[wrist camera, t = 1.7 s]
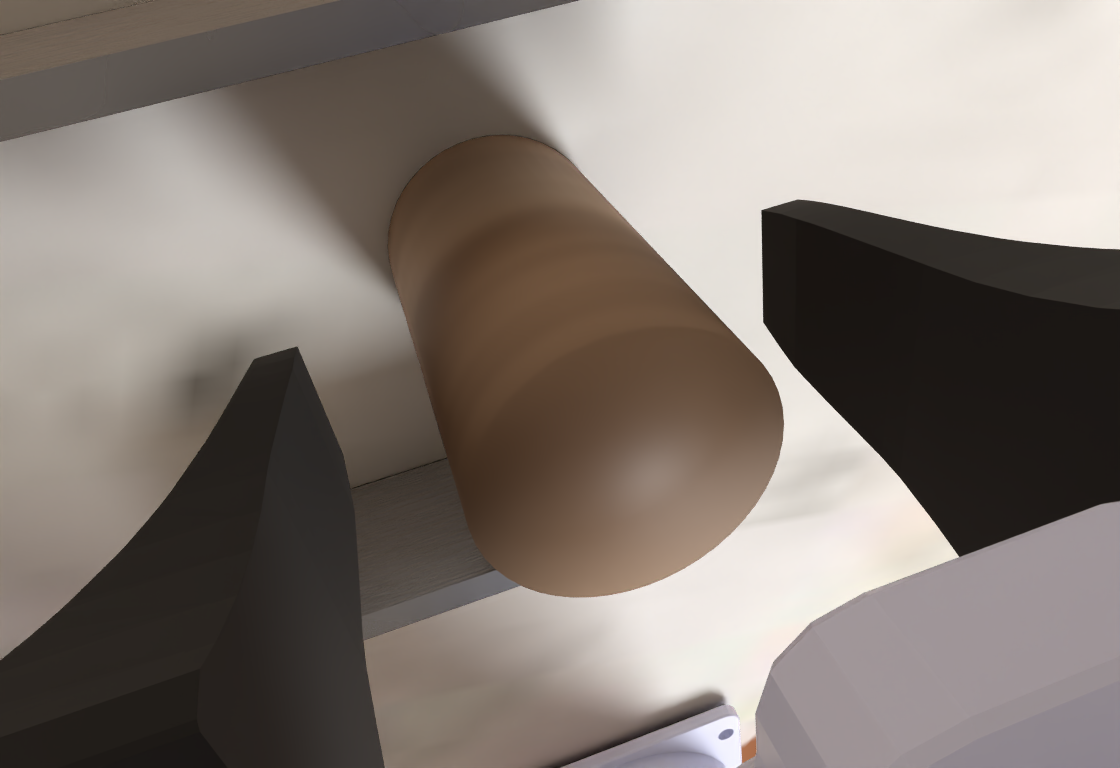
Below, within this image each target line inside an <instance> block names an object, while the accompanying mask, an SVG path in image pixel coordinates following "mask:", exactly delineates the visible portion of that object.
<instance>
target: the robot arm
mask: <svg viewBox="0 0 1120 768" xmlns="http://www.w3.org/2000/svg"><path fill="white" fill-rule="evenodd" d="M761 211H762V270H763V322H764V324H765V325H766V327H767V328H768V330H769V331H770V333H771V334H772V336H773V337H774V339H775V340H776V342H777V343H778V345H779V346H780V348H781V349H782V351H783V352H784V353H785V355H786V356H787V357H788V359H789V360H790V361H791V363H792V364H793V366H794V367H795V368H796V369H797V370H798V371H799V372H800V373H801V375H802V376H803V377H804V378H805V379H806V380H807V381H808V382H809V383H810V384H811V385H812V386H813V387H814V388H815V389H816V390H817V391H818V392H819V393H820V395H821V396H822V397H823V398H824V399H825V400H826V401H827V402H828V403H829V404H830V405H831V406H832V407H833V408H834V409H835V410H836V411H837V412H838V413H839V414H840V415H841V416H842V417H843V418H844V419H845V420H846V421H847V422H848V423H849V424H850V425H851V426H852V427H853V428H854V429H855V430H856V431H857V432H858V433H859V434H860V435H861V436H862V437H863V439H864V440H865V441H866V442H867V443H868V444H869V445H870V446H871V447H872V448H873V449H874V450H875V451H876V452H877V453H878V454H879V455H880V456H881V457H882V458H883V459H884V460H885V461H886V462H887V464H888V465H889V466H890V467H891V468H892V469H893V470H894V471H895V473H896V474H897V475H898V476H899V477H900V478H901V480H902V481H903V482H904V483H905V485H906V486H907V487H908V489H909V490H910V491H911V492H912V494H913V495H914V496H915V498H916V499H917V500H918V502H919V503H920V504H921V505H922V507H923V508H924V509H925V511H926V512H927V513H928V515H929V516H930V517H931V518H932V520H933V521H934V522H935V524H936V525H937V526H938V528H939V529H940V531H941V532H942V533H943V535H944V536H945V537H946V539H947V540H948V542H949V543H950V544H951V546H952V547H953V549H954V550H955V551H956V553H957V554H958V556H959V558H956V559H953V560H951V561H948V562H945V563H943V564H940V565H937V566H935V567H932V568H929V569H927V570H924V571H921V572H919V573H916V574H913V575H911V576H908V577H905V578H903V579H900V580H897V581H895V582H892V583H889V584H887V585H884V586H881V587H879V588H876V589H873V590H871V591H868V592H865V593H863V594H861V595H859V596H857V597H856V598H854V599H852V600H850V601H848V602H847V603H845V604H843V605H841V606H840V607H838V608H836V609H834V610H832V611H831V612H829V613H827V614H825V615H823V616H822V617H820V618H818V619H816V620H814V621H813V622H811V623H810V624H809V625H808V626H807V627H806V628H805V629H804V630H803V631H802V632H801V634H800V635H799V636H798V637H797V638H796V639H795V640H794V641H793V642H792V643H791V644H790V645H789V646H788V647H787V648H786V649H785V650H784V651H783V652H782V653H781V654H780V655H779V657H778V658H777V659H776V660H775V661H774V662H773V664H772V667H771V670H770V673H769V675H768V678H767V681H766V684H765V687H764V690H763V693H762V696H761V699H760V702H759V705H758V707H757V710H756V713H755V716H756V743H757V752H756V756H755V757H753V758H751V759H749V760H748V761H746V762H744V763H743V764H742V755H741V738H740V722H739V717H738V715H737V713H736V711H735V709H734V707H732V706H730V705H723V706H719V707H716V708H714V709H711V710H708V711H706V712H703V713H701V714H698V715H696V716H693V717H690V718H688V719H685V720H683V721H680V722H677V723H675V724H672V725H670V726H667V727H664V728H662V729H659V730H657V731H654V732H651V733H649V734H646V735H644V736H641V737H638V738H636V739H633V740H631V741H628V742H626V743H623V744H620V745H618V746H615V747H613V748H610V749H607V750H605V751H602V752H600V753H597V754H594V755H592V756H589V757H587V758H584V759H581V760H579V761H576V762H574V763H571V764H568V765H566V766H563V767H561V768H1120V250H1119V249H1097V248H1082V247H1069V246H1060V245H1050V244H1041V243H1031V242H1022V241H1015V240H1007V239H1000V238H994V237H988V236H983V235H977V234H971V233H965V232H960V231H954V230H949V229H944V228H939V227H934V226H929V225H924V224H920V223H915V222H910V221H906V220H901V219H897V218H892V217H888V216H884V215H879V214H875V213H870V212H866V211H861V210H857V209H852V208H848V207H843V206H838V205H833V204H828V203H822V202H816V201H808V200H795V201H791V202H788V203H784V204H781V205H778V206H774V207H771V208H767V209H764V210H761ZM0 768H385V767H384V762H383V757H382V751H381V746H380V741H379V736H378V731H377V725H376V719H375V714H374V708H373V703H372V697H371V691H370V686H369V680H368V675H367V669H366V661H365V652H364V643H363V631H362V615H361V599H360V583H359V567H358V551H357V536H356V522H355V510H354V505H353V500H352V495H351V490H350V485H349V480H348V476H347V471H346V466H345V461H344V457H343V453H342V451H341V449H340V446H339V444H338V442H337V439H336V437H335V434H334V432H333V430H332V427H331V425H330V423H329V420H328V418H327V416H326V413H325V411H324V408H323V406H322V404H321V401H320V399H319V397H318V394H317V392H316V390H315V387H314V385H313V382H312V380H311V378H310V375H309V373H308V371H307V368H306V366H305V364H304V361H303V359H302V356H301V354H300V352H299V349H298V347H294V348H290V349H287V350H283V351H280V352H277V353H273V354H270V355H266V356H263V357H260V358H256V359H254V360H253V362H252V364H251V365H250V367H249V369H248V370H247V372H246V374H245V376H244V377H243V379H242V381H241V382H240V384H239V386H238V388H237V389H236V391H235V393H234V395H233V396H232V398H231V400H230V402H229V403H228V405H227V407H226V409H225V410H224V412H223V414H222V416H221V417H220V419H219V421H218V422H217V424H216V426H215V427H214V429H213V430H212V432H211V434H210V435H209V437H208V439H207V440H206V442H205V444H204V445H203V446H202V448H201V449H200V451H199V452H198V454H197V455H196V456H195V458H194V459H193V461H192V462H191V464H190V465H189V467H188V468H187V469H186V471H185V472H184V474H183V475H182V477H181V478H180V479H179V481H178V482H177V484H176V485H175V487H174V488H173V490H172V491H171V492H170V493H169V495H168V496H167V497H166V499H165V500H164V501H163V503H162V504H161V505H160V506H159V508H158V509H157V510H156V511H155V512H154V514H153V515H152V516H151V517H150V518H149V520H148V521H147V522H146V523H145V524H144V525H143V527H142V528H141V529H140V530H139V531H138V532H137V533H136V535H135V536H134V537H133V538H132V539H131V540H130V541H129V543H128V544H127V545H126V546H125V547H124V548H123V549H122V550H121V551H120V552H119V553H118V554H117V555H116V556H115V557H114V558H113V559H112V560H111V561H110V562H109V563H108V564H107V565H106V566H105V567H104V568H103V569H102V570H101V571H100V572H99V573H98V574H97V575H96V576H95V577H94V578H93V579H92V580H91V581H90V582H89V583H88V584H87V585H86V586H85V587H84V588H83V589H82V590H81V591H80V592H79V593H78V594H77V595H76V596H75V597H74V598H73V599H72V600H71V601H70V602H69V603H68V604H66V605H65V606H64V607H63V608H62V609H61V610H60V611H59V612H58V613H56V614H55V615H54V616H53V617H52V618H51V619H49V620H48V621H47V622H46V623H45V624H44V625H43V626H41V627H40V628H39V629H38V630H37V631H36V632H35V633H33V634H32V635H31V636H30V637H29V638H27V639H26V640H25V641H24V642H22V643H21V644H20V645H19V646H18V647H16V648H15V649H14V650H13V651H11V652H10V653H9V654H8V655H7V656H5V657H4V658H3V659H2V660H0Z"/></svg>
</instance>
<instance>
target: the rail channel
mask: <svg viewBox="0 0 1120 768" xmlns="http://www.w3.org/2000/svg"><path fill="white" fill-rule="evenodd" d="M574 1H578V0H154V1H150V2H145V3H141V4H137V5H132V6H128V7H123V8H119V9H115V10H110V11H106V12H101V13H97V14H92V15H88V16H84V17H79V18H75V19H70V20H66V21H62V22H57V23H53V24H48V25H44V26H40V27H35V28H31V29H26V30H22V31H17V32H13V33H9V34H4V35H0V142H2V141H6V140H10V139H14V138H18V137H22V136H26V135H30V134H34V133H38V132H42V131H47V130H51V129H55V128H59V127H63V126H67V125H71V124H75V123H79V122H83V121H87V120H92V119H96V118H100V117H104V116H108V115H112V114H116V113H120V112H124V111H128V110H132V109H136V108H141V107H145V106H149V105H153V104H157V103H161V102H165V101H169V100H173V99H177V98H181V97H186V96H190V95H194V94H198V93H202V92H206V91H210V90H214V89H218V88H222V87H226V86H231V85H235V84H239V83H243V82H247V81H251V80H255V79H259V78H263V77H267V76H271V75H276V74H280V73H284V72H288V71H292V70H296V69H300V68H304V67H308V66H312V65H316V64H321V63H325V62H329V61H333V60H337V59H341V58H345V57H349V56H353V55H357V54H361V53H366V52H370V51H374V50H378V49H382V48H386V47H390V46H394V45H398V44H402V43H406V42H411V41H415V40H419V39H423V38H427V37H431V36H435V35H439V34H443V33H447V32H451V31H456V30H460V29H464V28H468V27H472V26H476V25H480V24H484V23H488V22H492V21H496V20H501V19H505V18H509V17H513V16H517V15H521V14H525V13H529V12H533V11H537V10H541V9H546V8H550V7H554V6H558V5H562V4H566V3H570V2H574ZM350 490H351V495H352V500H353V505H354V510H355V522H356V536H357V551H358V567H359V583H360V599H361V615H362V631H363V640H366V639H369V638H372V637H375V636H377V635H380V634H383V633H386V632H389V631H392V630H395V629H397V628H400V627H403V626H406V625H409V624H412V623H415V622H418V621H420V620H423V619H426V618H429V617H432V616H435V615H438V614H440V613H443V612H446V611H449V610H452V609H455V608H458V607H460V606H463V605H466V604H469V603H472V602H475V601H478V600H480V599H483V598H486V597H489V596H492V595H495V594H498V593H501V592H503V591H506V590H509V589H512V588H515V587H518V586H521V585H519V584H517V583H515V582H513V581H511V580H510V579H508V578H506V577H505V576H504V575H502V574H501V573H500V572H498V571H497V570H496V569H495V568H494V567H493V566H492V565H491V564H490V563H489V562H488V561H487V560H486V559H485V558H484V557H483V555H482V554H481V552H480V551H479V549H478V548H477V546H476V545H475V542H474V540H473V538H472V535H471V533H470V531H469V528H468V525H467V521H466V518H465V515H464V511H463V508H462V505H461V501H460V498H459V495H458V491H457V488H456V485H455V481H454V478H453V475H452V471H451V468H450V465H449V461H448V458H447V459H443V460H440V461H437V462H434V463H431V464H428V465H425V466H422V467H419V468H415V469H412V470H409V471H406V472H403V473H400V474H397V475H394V476H391V477H387V478H384V479H381V480H378V481H375V482H372V483H369V484H366V485H363V486H360V487H356V488H353V489H350Z"/></svg>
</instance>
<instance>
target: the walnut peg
mask: <svg viewBox="0 0 1120 768" xmlns="http://www.w3.org/2000/svg"><path fill="white" fill-rule="evenodd" d="M388 254H389V262H390V266H391V270H392V274H393V277H394V281H395V284H396V287H397V291H398V294H399V297H400V301H401V304H402V307H403V311H404V314H405V317H406V321H407V324H408V327H409V331H410V334H411V337H412V341H413V344H414V347H415V351H416V354H417V357H418V361H419V364H420V368H421V371H422V374H423V378H424V381H425V384H426V388H427V391H428V394H429V398H430V401H431V404H432V408H433V411H434V414H435V418H436V421H437V424H438V428H439V431H440V434H441V438H442V441H443V444H444V448H445V451H446V454H447V458H448V461H449V465H450V468H451V471H452V475H453V478H454V481H455V485H456V488H457V491H458V495H459V498H460V501H461V505H462V508H463V511H464V515H465V518H466V521H467V525H468V528H469V531H470V533H471V535H472V538H473V540H474V542H475V545H476V546H477V548H478V549H479V551H480V552H481V554H482V555H483V557H484V558H485V559H486V560H487V561H488V562H489V563H490V564H491V565H492V566H493V567H494V568H495V569H496V570H497V571H498V572H500V573H501V574H502V575H504V576H505V577H506V578H508V579H510V580H511V581H513V582H515V583H517V584H519V585H521V586H523V587H526V588H529V589H531V590H534V591H537V592H541V593H545V594H550V595H555V596H564V597H597V596H605V595H612V594H617V593H622V592H626V591H631V590H634V589H637V588H640V587H643V586H647V585H649V584H652V583H654V582H657V581H659V580H662V579H664V578H666V577H668V576H670V575H672V574H674V573H676V572H678V571H680V570H682V569H684V568H686V567H687V566H689V565H691V564H692V563H694V562H695V561H697V560H699V559H700V558H702V557H703V556H704V555H706V554H707V553H708V552H710V551H711V550H712V549H714V548H715V547H716V546H717V545H719V544H720V543H721V542H722V541H723V540H724V539H725V538H727V537H728V536H729V535H730V534H731V533H732V532H733V531H734V530H735V529H736V528H737V527H738V526H739V524H740V523H741V522H742V521H743V520H744V519H745V518H746V516H747V515H748V514H749V513H750V511H751V510H752V509H753V508H754V506H755V505H756V503H757V502H758V500H759V499H760V497H761V495H762V494H763V492H764V491H765V489H766V487H767V485H768V483H769V481H770V479H771V477H772V475H773V473H774V470H775V467H776V464H777V461H778V459H779V455H780V450H781V446H782V441H783V429H784V419H783V407H782V403H781V399H780V396H779V392H778V390H777V387H776V385H775V383H774V381H773V379H772V377H771V375H770V374H769V372H768V371H767V369H766V368H765V367H764V365H763V364H762V363H761V362H760V361H759V360H758V358H757V357H756V356H755V355H754V354H753V353H752V352H751V351H750V350H749V349H748V348H747V347H746V346H745V345H744V344H743V343H742V342H741V341H740V340H739V338H738V337H737V336H736V335H735V334H734V333H733V332H732V331H731V330H730V329H729V328H728V327H727V326H726V325H725V324H724V323H723V322H722V321H721V320H720V318H719V317H718V316H717V315H716V314H715V313H714V312H713V311H712V310H711V309H710V308H709V307H708V306H707V305H706V304H705V303H704V302H703V301H702V300H701V298H700V297H699V296H698V295H697V294H696V293H695V292H694V291H693V290H692V289H691V288H690V287H689V286H688V285H687V284H686V283H685V282H684V281H683V279H682V278H681V277H680V276H679V275H678V274H677V273H676V272H675V271H674V270H673V269H672V268H671V267H670V266H669V265H668V264H667V263H666V262H665V261H664V259H663V258H662V257H661V256H660V255H659V254H658V253H657V252H656V251H655V250H654V249H653V248H652V247H651V246H650V245H649V244H648V243H647V242H646V241H645V239H644V238H643V237H642V236H641V235H640V234H639V233H638V232H637V231H636V230H635V229H634V228H633V227H632V226H631V225H630V224H629V223H628V222H627V221H626V219H625V218H624V217H623V216H622V215H621V214H620V213H619V212H618V211H617V210H616V209H615V208H614V207H613V206H612V205H611V204H610V203H609V202H608V200H607V199H606V198H605V197H604V196H603V195H602V194H601V193H600V192H599V191H598V190H597V189H596V188H595V187H594V186H593V185H592V184H591V183H590V182H589V180H588V179H587V178H586V177H585V176H584V175H583V174H582V173H581V172H580V171H579V170H578V169H577V168H576V167H575V166H574V165H573V164H572V163H571V162H570V161H569V160H568V159H567V158H566V157H564V156H563V155H562V154H560V153H559V152H558V151H556V150H555V149H553V148H551V147H549V146H547V145H545V144H543V143H540V142H538V141H535V140H532V139H529V138H524V137H519V136H510V135H493V136H484V137H479V138H474V139H470V140H467V141H465V142H462V143H459V144H456V145H454V146H452V147H450V148H448V149H446V150H444V151H443V152H441V153H440V154H438V155H437V156H435V157H434V158H432V159H431V160H430V161H429V162H428V163H426V164H425V165H424V166H423V167H422V168H421V169H420V170H419V171H418V172H417V173H416V174H415V175H414V176H413V178H412V179H411V180H410V181H409V183H408V184H407V186H406V187H405V189H404V190H403V192H402V194H401V196H400V198H399V200H398V202H397V204H396V206H395V209H394V212H393V215H392V218H391V222H390V227H389V232H388Z"/></svg>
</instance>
